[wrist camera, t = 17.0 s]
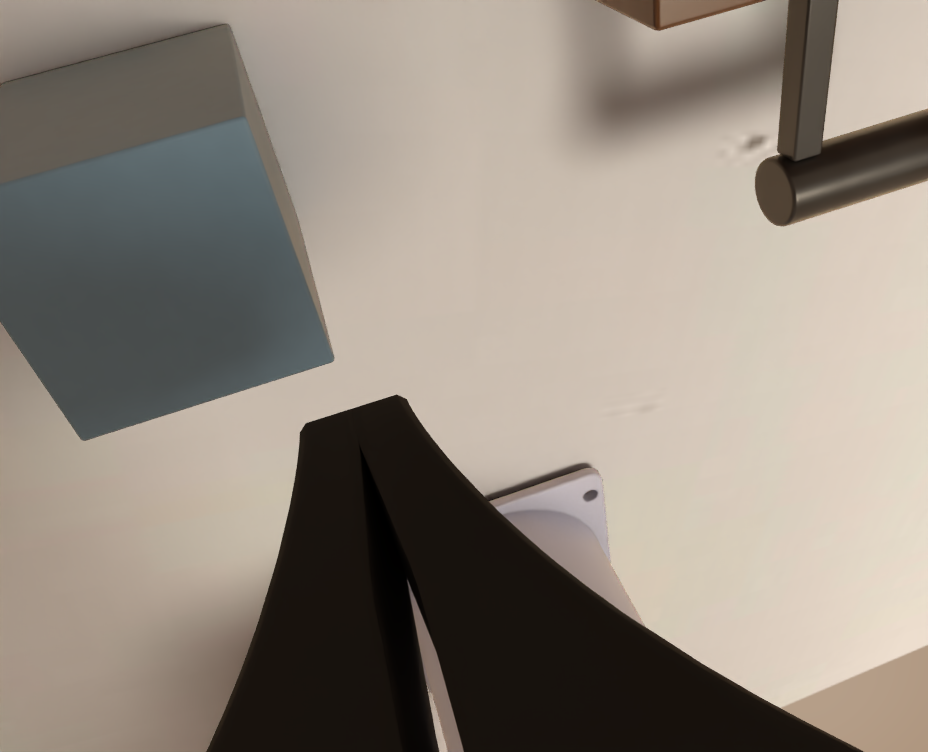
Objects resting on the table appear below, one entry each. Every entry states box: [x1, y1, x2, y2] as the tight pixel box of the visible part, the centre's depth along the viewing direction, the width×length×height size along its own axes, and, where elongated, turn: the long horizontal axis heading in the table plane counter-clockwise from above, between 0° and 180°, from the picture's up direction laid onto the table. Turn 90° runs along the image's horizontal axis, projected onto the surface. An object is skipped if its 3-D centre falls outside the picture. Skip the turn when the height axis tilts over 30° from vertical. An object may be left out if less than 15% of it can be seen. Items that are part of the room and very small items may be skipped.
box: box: [0, 24, 334, 441], centre depth 15 cm, size 5×5×6 cm
